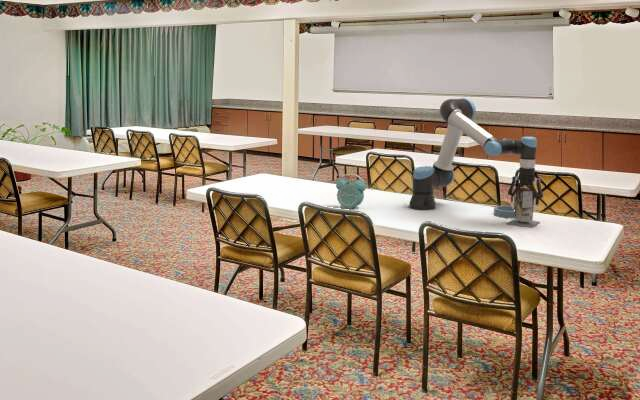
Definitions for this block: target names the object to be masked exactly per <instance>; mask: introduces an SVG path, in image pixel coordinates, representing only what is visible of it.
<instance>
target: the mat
mask: <svg viewBox="0 0 640 400" xmlns="http://www.w3.org/2000/svg"><path fill="white" fill-rule="evenodd" d="M540 223H541V222H540V221H536V220H533V221H529V222H521V221H519V220H518V219H516V218H512V219H511V220H510V221H508V222H506V224H507V225H511V226H517V227H523V228H529V229H530V228H534V227H536V226H537V225H539V224H540Z"/></svg>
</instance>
